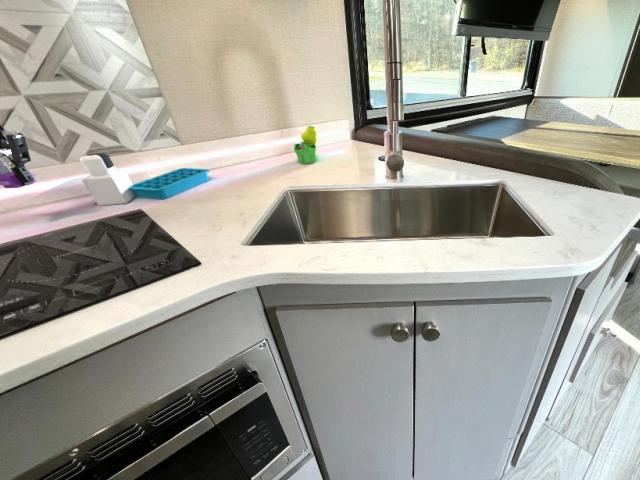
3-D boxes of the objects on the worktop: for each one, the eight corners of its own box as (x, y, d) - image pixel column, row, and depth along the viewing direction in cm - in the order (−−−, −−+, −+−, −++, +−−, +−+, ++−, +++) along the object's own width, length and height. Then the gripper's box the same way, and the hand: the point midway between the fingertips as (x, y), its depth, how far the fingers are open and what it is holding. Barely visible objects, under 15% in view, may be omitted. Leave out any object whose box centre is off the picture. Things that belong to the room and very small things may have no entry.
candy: (-1, 190, 67) (-11, 178, 66) (28, 180, 72) (20, 169, 71) (13, 189, 67) (4, 177, 66) (41, 179, 72) (33, 168, 71)
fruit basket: (297, 158, 121) (289, 125, 114) (320, 156, 122) (314, 123, 115) (297, 165, 112) (289, 130, 105) (322, 163, 114) (316, 128, 107)
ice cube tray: (214, 179, 102) (211, 169, 100) (162, 201, 86) (157, 190, 85) (185, 177, 104) (181, 167, 102) (130, 198, 89) (124, 187, 87)
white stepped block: (112, 197, 90) (85, 152, 83) (139, 195, 91) (115, 150, 84) (97, 206, 85) (68, 158, 77) (126, 203, 86) (99, 156, 78)
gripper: (-112, 94, 56) (-29, 191, 67) (-32, 92, 56) (38, 189, 67) (-64, 90, 62) (5, 180, 73) (8, 89, 62) (66, 178, 73)
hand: (20, 184), depth 70 cm, fingers closed on candy, 3 cm apart
